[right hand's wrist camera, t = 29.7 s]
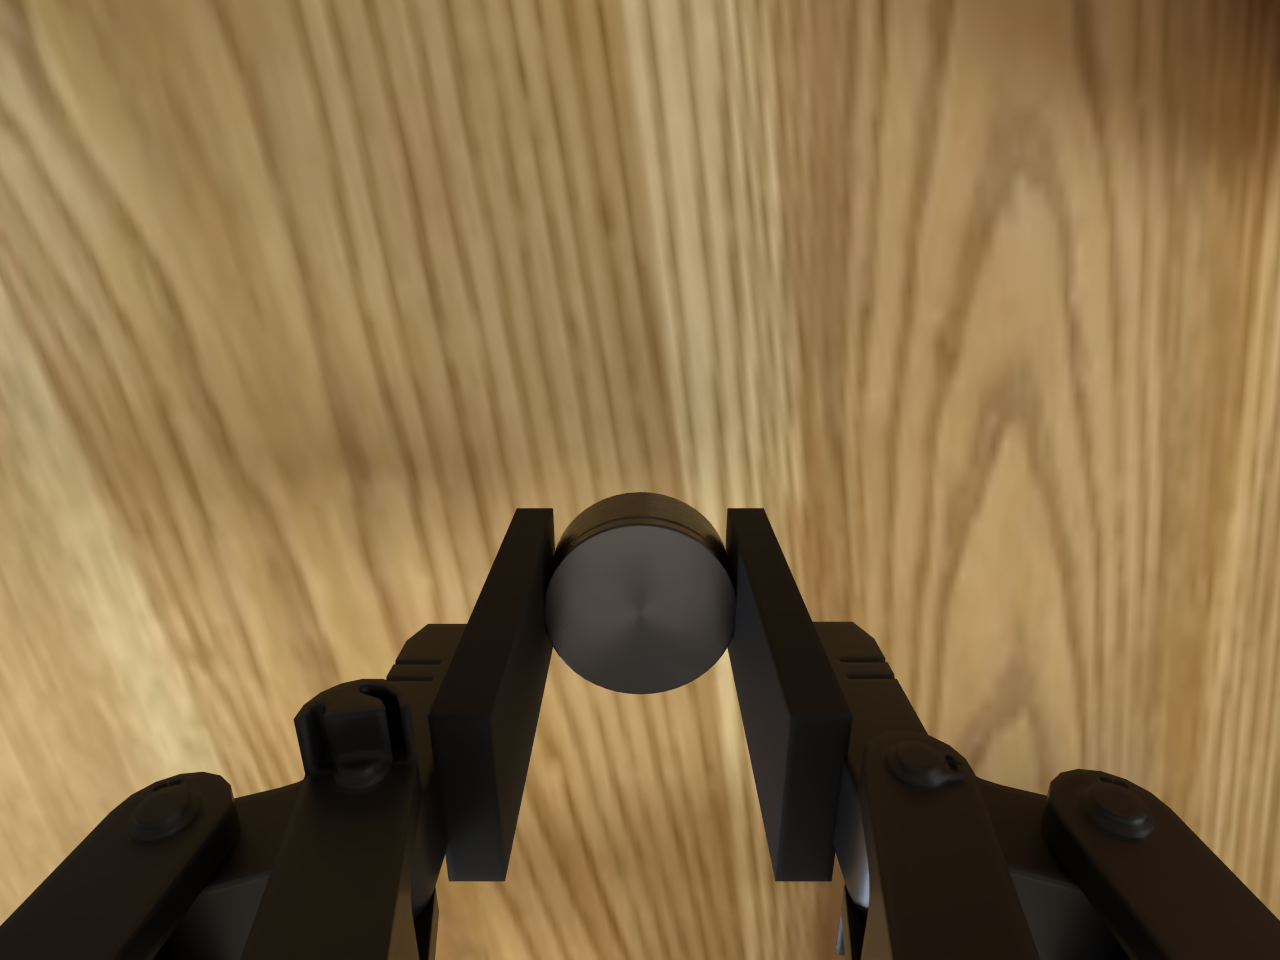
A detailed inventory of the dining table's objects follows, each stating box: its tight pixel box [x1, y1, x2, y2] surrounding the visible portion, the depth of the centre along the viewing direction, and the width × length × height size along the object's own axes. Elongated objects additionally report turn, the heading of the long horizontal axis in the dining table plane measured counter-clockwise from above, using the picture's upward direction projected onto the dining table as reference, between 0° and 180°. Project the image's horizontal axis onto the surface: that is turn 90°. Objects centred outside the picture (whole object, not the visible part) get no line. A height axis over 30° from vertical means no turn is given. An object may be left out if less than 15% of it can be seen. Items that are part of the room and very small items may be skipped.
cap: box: [544, 492, 737, 694], centre depth 14 cm, size 4×4×2 cm
